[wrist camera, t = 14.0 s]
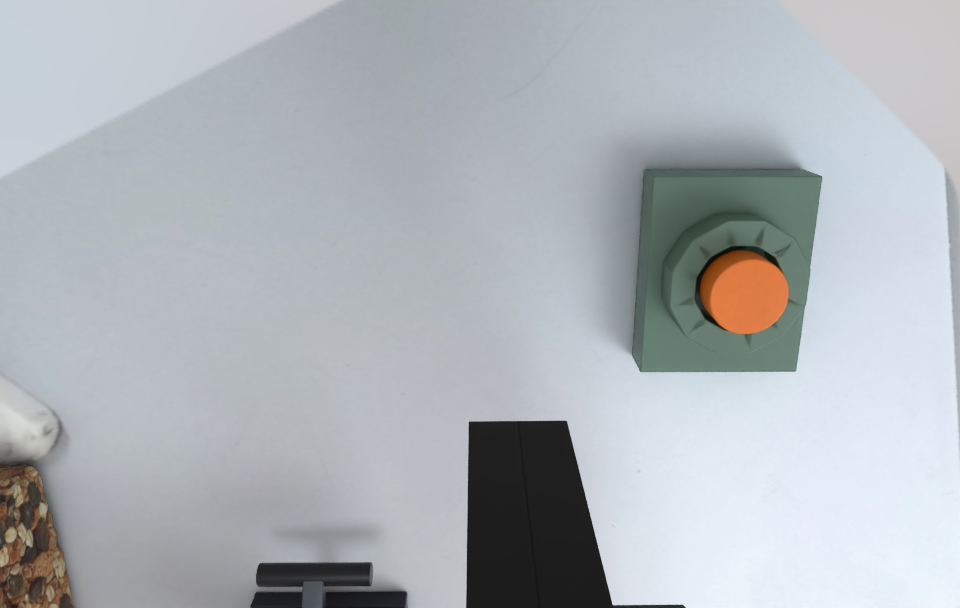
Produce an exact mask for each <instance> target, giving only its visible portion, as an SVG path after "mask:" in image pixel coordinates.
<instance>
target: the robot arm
mask: <svg viewBox="0 0 960 608" xmlns="http://www.w3.org/2000/svg"><path fill="white" fill-rule="evenodd" d="M466 608H685V607H684V606H683V605H612V601H611V597H610V593H609V589H608V585H607V581H606V577H605V573H604V569H603V565H602V561H601V557H600V553H599V549H598V545H597V541H596V537H595V533H594V529H593V525H592V521H591V517H590V513H589V509H588V505H587V501H586V497H585V493H584V489H583V485H582V481H581V477H580V473H579V469H578V465H577V461H576V457H575V453H574V448H573V444H572V440H571V436H570V432H569V428H568V424H567V421H490V422H469V455H468V528H467V601H466Z"/></svg>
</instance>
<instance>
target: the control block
mask: <svg viewBox="0 0 960 608" xmlns="http://www.w3.org/2000/svg"><path fill="white" fill-rule="evenodd" d="M821 182H822V176H820V175H817V174H814V173H811V172H809V171H806V170H645V171H644V182H643V197H642V213H641V228H640V244H639V259H638V275H637V290H636V306H635V321H634V337H633V352H632V356H633V358H634V360H635V362H636V364H637V366H638V368H639V370H640V372H795V371H796V368H797V360H798V353H799V345H800V338H801V330H802V323H803V316H804V308H805V305H806V300H807V292H808V285H809V278H810V264H811V256H812V249H813V241H814V234H815V227H816V219H817V212H818V204H819V197H820V189H821ZM736 250H748V251H752V252H755V253H757V254H759V255H761V256H763V257H764V258H765V259H767V260H768V261H770V262H771V263H772V264H774V265H775V266H777V267H778V268H779V269H780V270H781V272H782V273H783V274H784V276H785V278H786V281H787V284H788V290H789V294H788V301H787V305H786V307H785V310H784V312H783V313H782V315H781V316H780V317H779V319H778V320H777V321H776V322H775V323H774V324H772V325H771V326H770V327H768V328H766V329H764V330H762V331H760V332H757V333H752V334H737V333H733V332H730V331H728V330H726V329H724V328H723V327H722V326H720V325H719V324H718V323H717V322H716V320H715V319H714V318H713V317H712V316H711V315H710V314H709V313H708V311H707V310H706V309H705V307H704V306H703V304H702V301H701V298H700V283H701V279H702V276H703V274H704V272H705V270H706V269H707V268H708V266H709V265H710V264H711V263H712V262H713V261H714V260H715V259H717V258H718V257H720V256H721V255H723V254H725V253H728V252H731V251H736Z"/></svg>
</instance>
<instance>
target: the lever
mask: <svg viewBox="0 0 960 608" xmlns="http://www.w3.org/2000/svg"><path fill="white" fill-rule="evenodd" d="M372 578H373V566H372V563H371V562H363V563H260V564H259V566H258V568H257V574H256V582H257V586H259V587H303V591H302V608H325V603H326V586H371V584H372Z"/></svg>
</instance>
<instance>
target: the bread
mask: <svg viewBox="0 0 960 608" xmlns="http://www.w3.org/2000/svg"><path fill="white" fill-rule="evenodd" d="M47 508H48V504H47V501H46V498H45V494H44V489H43V483H42V479H41V477H40V475H39V472H38V471H37V470H36V469H35V468H34V467H32V466H29V465H26V464H17V465H14V466H12V467H9V466H5V465H1V464H0V608H74V607H73V605H72V600H71V593H70V587H69V581H68V575H67V571H66V567H65V563H64V557H63V552H62V551H61V549H60V548H59V546H58V543H57V533H56V530H54V529H53V520H52V516H51V514H50V513H49V512H48V510H47Z"/></svg>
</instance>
